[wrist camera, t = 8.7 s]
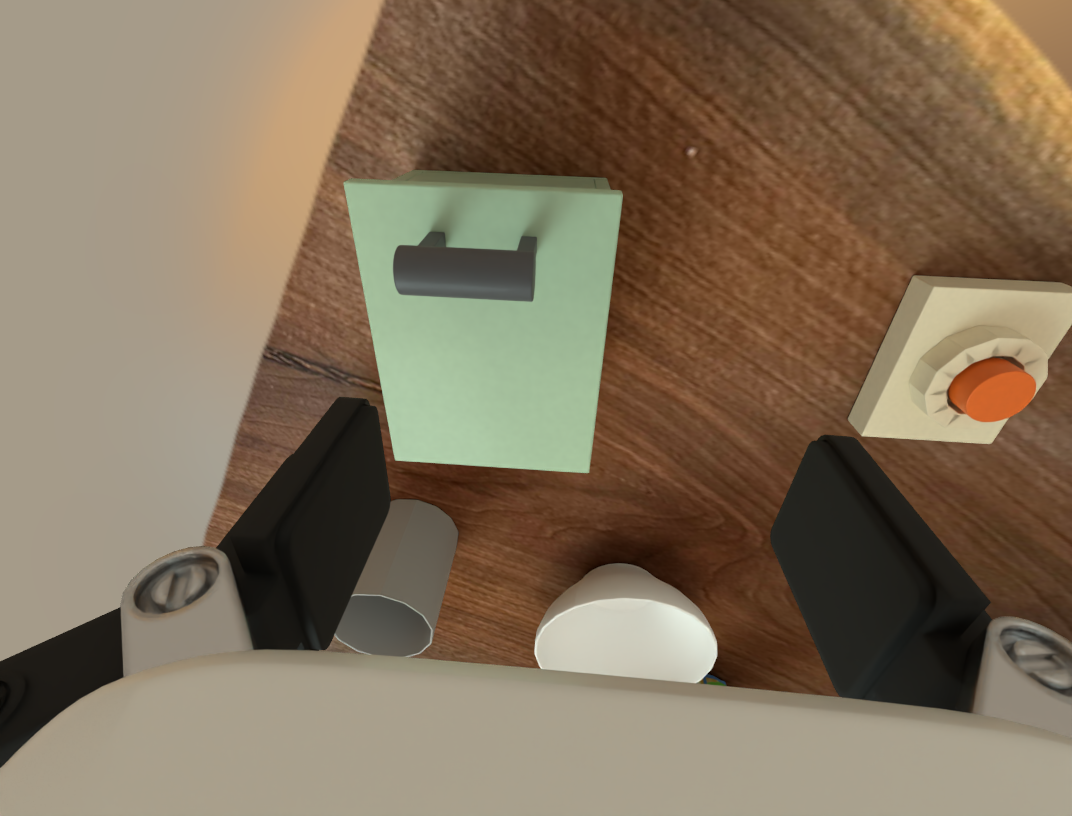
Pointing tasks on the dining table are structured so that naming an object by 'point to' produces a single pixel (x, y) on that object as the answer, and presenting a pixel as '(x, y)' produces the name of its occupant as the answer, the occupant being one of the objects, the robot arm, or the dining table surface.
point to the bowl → (626, 629)
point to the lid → (487, 316)
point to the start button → (992, 390)
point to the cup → (401, 582)
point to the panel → (956, 352)
